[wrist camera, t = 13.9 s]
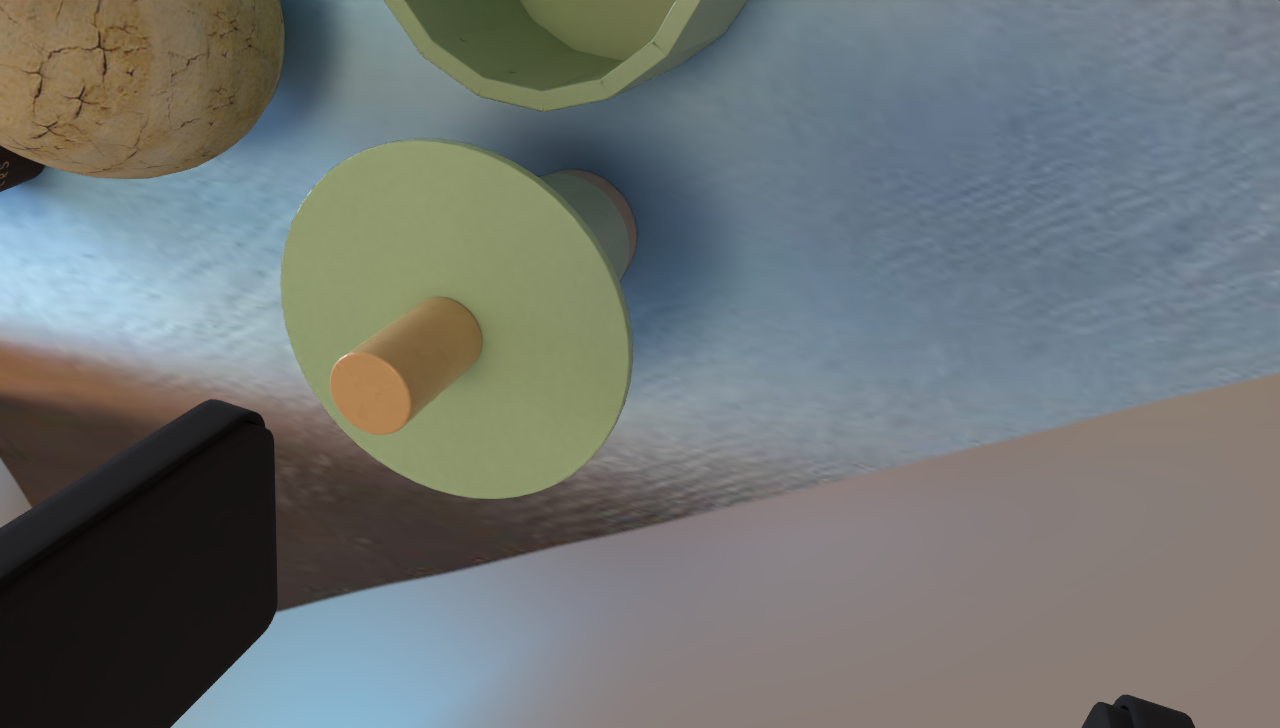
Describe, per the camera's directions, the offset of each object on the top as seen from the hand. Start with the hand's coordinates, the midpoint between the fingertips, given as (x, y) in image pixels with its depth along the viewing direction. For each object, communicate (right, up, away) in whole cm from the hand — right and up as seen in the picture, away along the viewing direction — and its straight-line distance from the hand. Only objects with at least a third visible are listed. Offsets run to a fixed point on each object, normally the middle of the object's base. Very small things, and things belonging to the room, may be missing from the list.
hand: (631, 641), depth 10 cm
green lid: (-6, +4, +23) cm, 24 cm away
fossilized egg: (-20, +20, +35) cm, 45 cm away
